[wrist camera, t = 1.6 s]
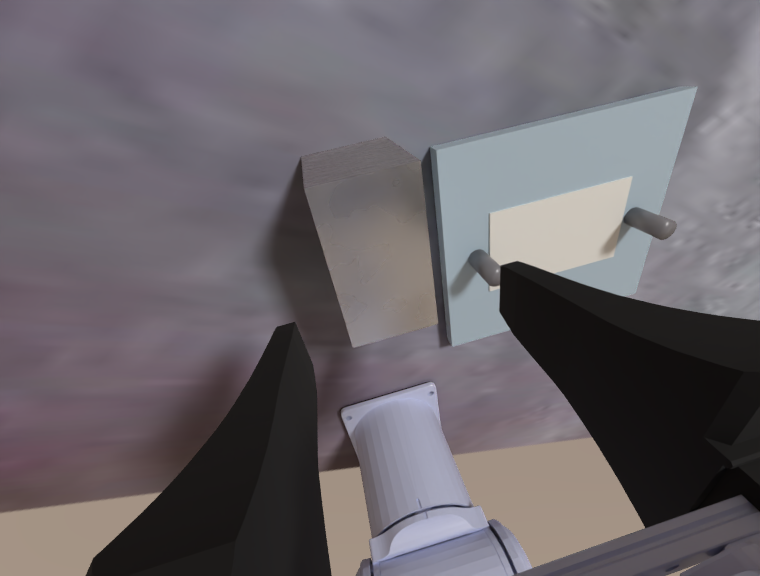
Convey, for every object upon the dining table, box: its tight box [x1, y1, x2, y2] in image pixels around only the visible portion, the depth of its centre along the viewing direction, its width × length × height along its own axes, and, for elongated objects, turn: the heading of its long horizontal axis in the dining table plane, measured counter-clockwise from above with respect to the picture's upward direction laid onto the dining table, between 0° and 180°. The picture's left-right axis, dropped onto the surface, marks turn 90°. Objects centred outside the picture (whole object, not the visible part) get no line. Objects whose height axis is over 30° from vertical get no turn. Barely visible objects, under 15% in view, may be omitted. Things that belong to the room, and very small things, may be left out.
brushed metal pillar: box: [301, 137, 438, 348], centre depth 17 cm, size 4×8×6 cm, turn 10°
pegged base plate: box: [430, 86, 697, 347], centre depth 21 cm, size 14×15×4 cm
